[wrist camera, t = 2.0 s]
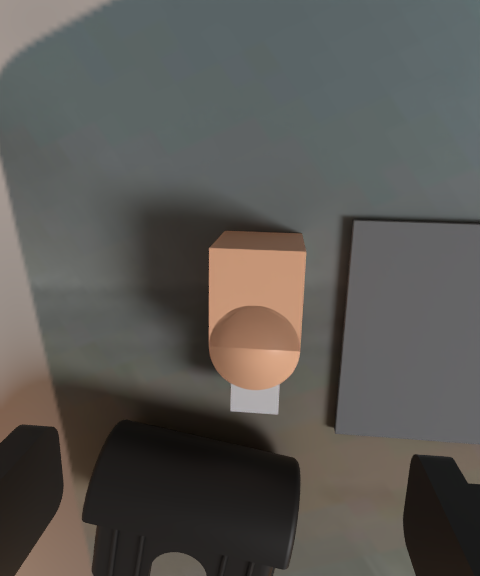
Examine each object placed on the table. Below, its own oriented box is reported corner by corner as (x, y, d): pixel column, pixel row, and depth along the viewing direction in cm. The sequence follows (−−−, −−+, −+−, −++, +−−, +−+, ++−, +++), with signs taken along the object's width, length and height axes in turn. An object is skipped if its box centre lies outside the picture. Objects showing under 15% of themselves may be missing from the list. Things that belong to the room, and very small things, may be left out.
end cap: (299, 429, 26) (303, 517, 20) (274, 525, 28) (270, 634, 22) (134, 392, 26) (85, 467, 20) (121, 489, 28) (72, 585, 22)
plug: (224, 230, 23) (209, 248, 18) (302, 233, 23) (306, 251, 18) (223, 381, 26) (208, 431, 21) (293, 386, 25) (294, 437, 20)
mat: (352, 219, 22) (354, 220, 22) (541, 225, 22) (547, 226, 21) (334, 428, 26) (335, 433, 25) (497, 440, 25) (502, 446, 24)
